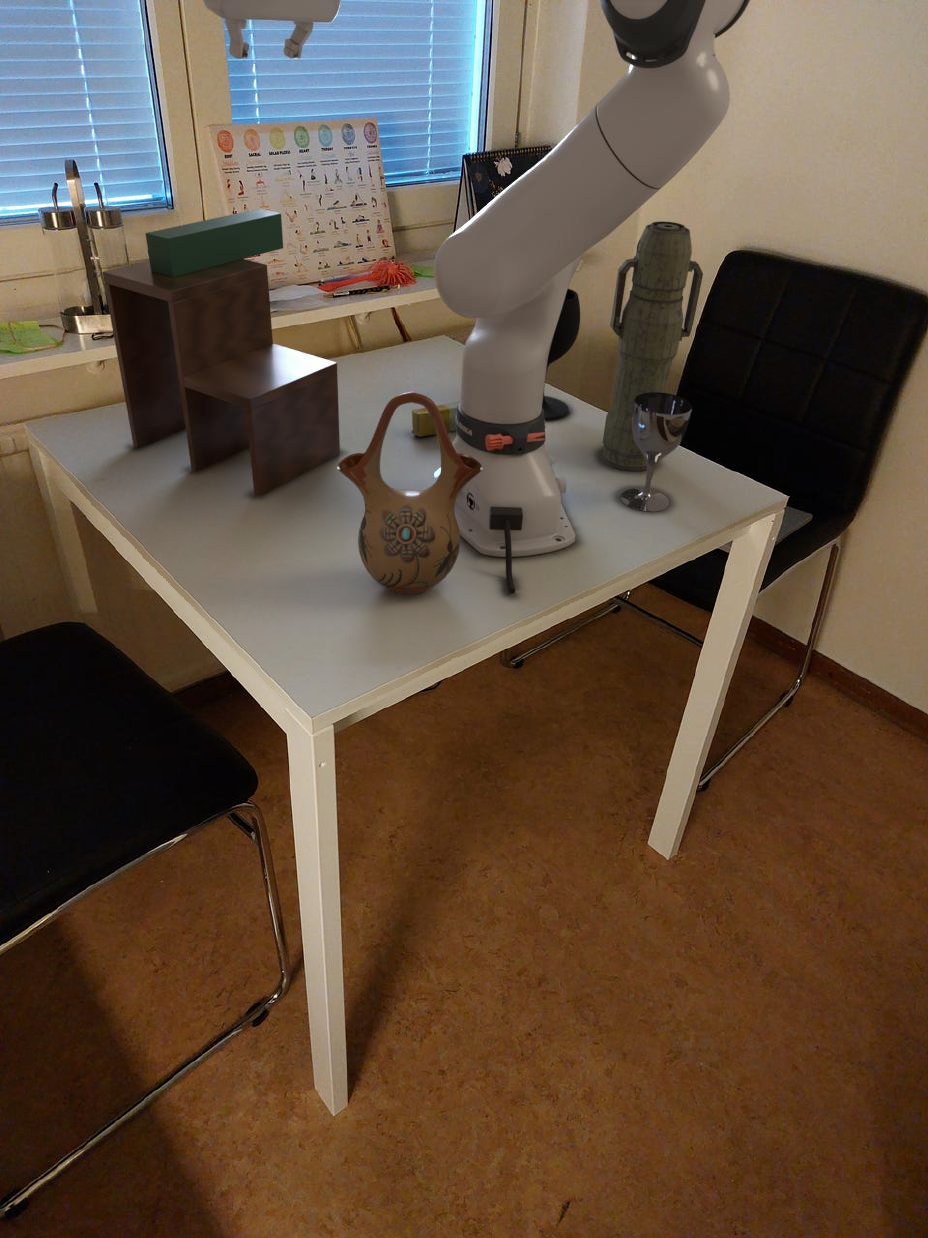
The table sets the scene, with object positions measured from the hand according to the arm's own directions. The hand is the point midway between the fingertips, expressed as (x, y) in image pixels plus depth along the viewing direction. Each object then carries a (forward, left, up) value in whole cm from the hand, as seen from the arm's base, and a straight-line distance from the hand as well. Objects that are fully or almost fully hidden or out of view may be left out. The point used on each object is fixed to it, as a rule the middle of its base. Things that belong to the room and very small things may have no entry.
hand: (265, 56), depth 114 cm
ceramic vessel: (-48, -6, -52) cm, 71 cm away
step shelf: (-5, +9, -52) cm, 53 cm away
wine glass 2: (-35, -46, -52) cm, 77 cm away
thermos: (-22, -50, -52) cm, 75 cm away
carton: (+4, +8, -26) cm, 27 cm away
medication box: (-5, -25, -52) cm, 58 cm away
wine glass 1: (0, -44, -52) cm, 68 cm away
